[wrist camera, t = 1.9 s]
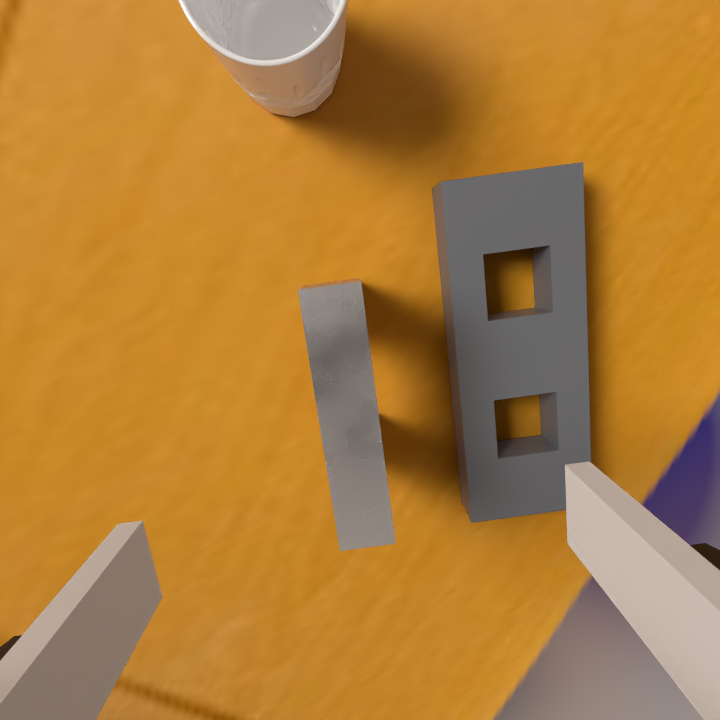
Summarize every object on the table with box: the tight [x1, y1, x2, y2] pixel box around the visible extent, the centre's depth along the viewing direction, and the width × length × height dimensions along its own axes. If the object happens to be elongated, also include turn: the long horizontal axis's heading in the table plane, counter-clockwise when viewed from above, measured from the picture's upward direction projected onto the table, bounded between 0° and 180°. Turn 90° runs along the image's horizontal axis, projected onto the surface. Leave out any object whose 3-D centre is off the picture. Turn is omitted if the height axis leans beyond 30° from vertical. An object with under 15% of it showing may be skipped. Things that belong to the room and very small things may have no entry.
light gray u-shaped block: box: [298, 278, 395, 551], centre depth 29 cm, size 3×14×12 cm, turn 8°
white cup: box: [179, 0, 349, 117], centre depth 25 cm, size 8×8×10 cm
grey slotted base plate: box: [432, 162, 591, 523], centre depth 33 cm, size 9×24×3 cm, turn 8°
